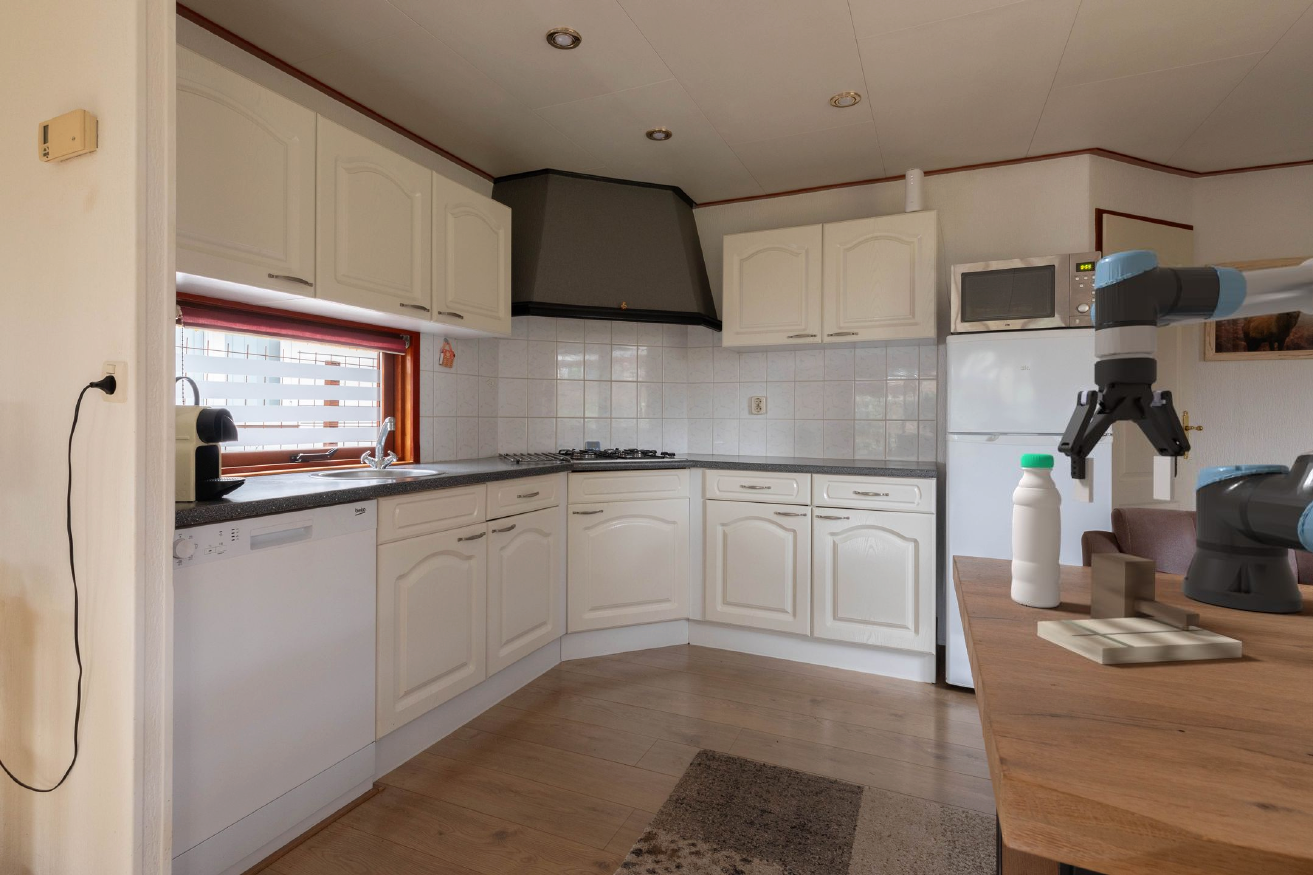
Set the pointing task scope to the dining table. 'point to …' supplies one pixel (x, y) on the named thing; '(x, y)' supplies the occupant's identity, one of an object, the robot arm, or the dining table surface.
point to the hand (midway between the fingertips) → (1124, 500)
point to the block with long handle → (1130, 590)
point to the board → (1137, 640)
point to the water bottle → (1036, 535)
